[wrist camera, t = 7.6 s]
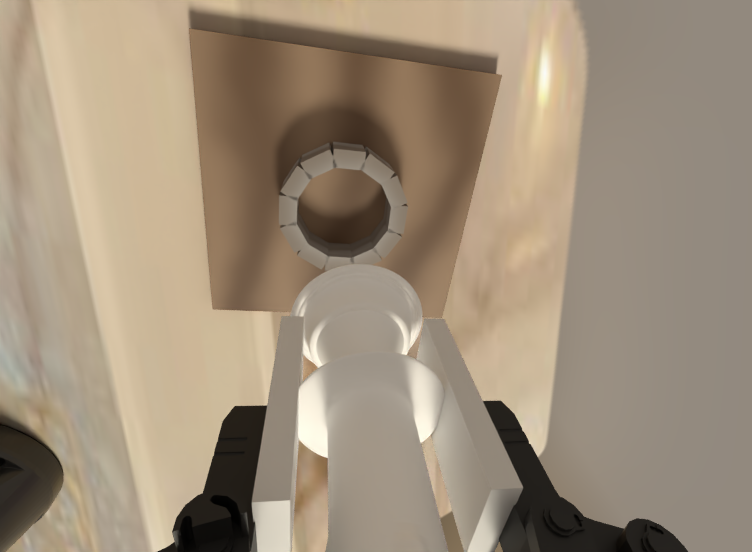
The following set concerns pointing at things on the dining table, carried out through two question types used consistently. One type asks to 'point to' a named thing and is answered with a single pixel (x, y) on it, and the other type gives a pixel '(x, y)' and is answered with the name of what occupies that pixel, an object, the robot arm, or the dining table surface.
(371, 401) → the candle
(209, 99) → the flange board
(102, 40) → the dining table surface
